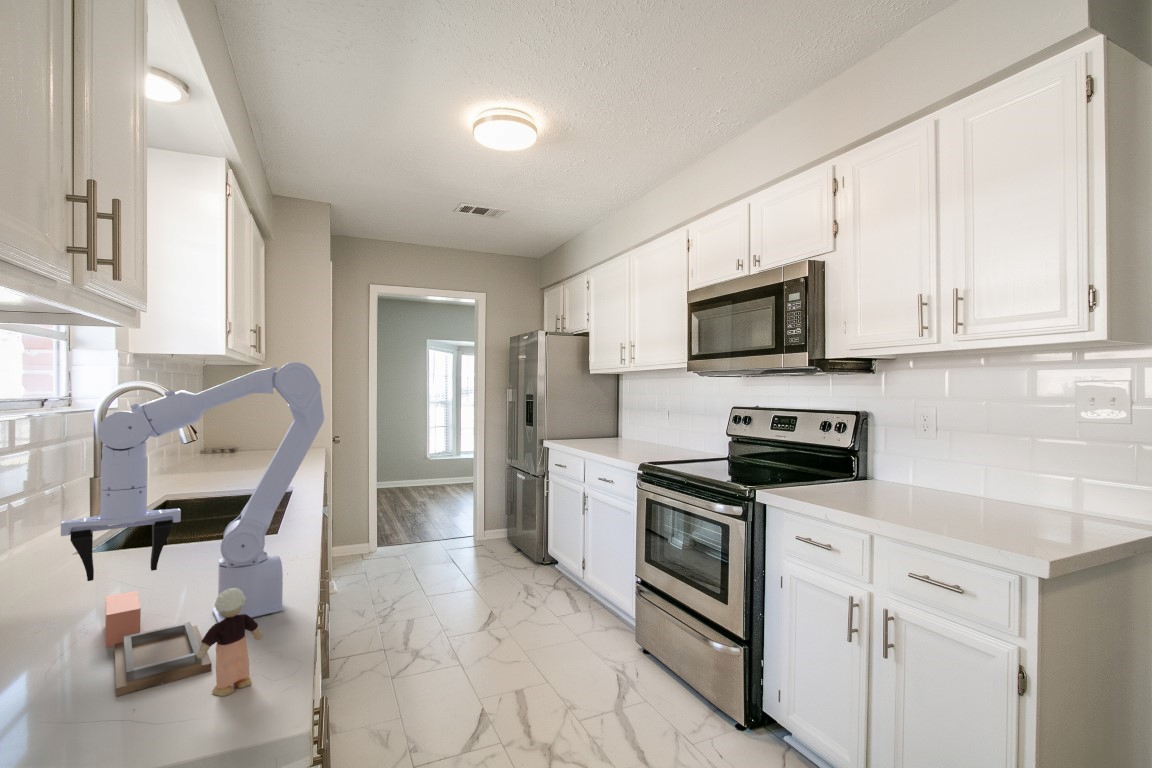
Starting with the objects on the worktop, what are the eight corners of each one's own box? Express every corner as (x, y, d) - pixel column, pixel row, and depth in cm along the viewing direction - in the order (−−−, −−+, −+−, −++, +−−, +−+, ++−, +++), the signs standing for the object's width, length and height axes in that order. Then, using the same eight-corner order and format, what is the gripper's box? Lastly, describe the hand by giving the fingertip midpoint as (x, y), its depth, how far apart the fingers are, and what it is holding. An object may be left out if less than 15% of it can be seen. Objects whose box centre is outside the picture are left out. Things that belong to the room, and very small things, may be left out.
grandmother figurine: (245, 672, 75) (246, 578, 75) (266, 677, 74) (267, 581, 74) (188, 701, 68) (189, 597, 68) (209, 708, 66) (210, 601, 67)
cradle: (196, 631, 88) (196, 617, 88) (211, 670, 75) (211, 654, 75) (114, 650, 81) (114, 635, 81) (116, 696, 69) (116, 678, 69)
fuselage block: (136, 620, 92) (137, 590, 92) (140, 641, 85) (140, 608, 85) (105, 627, 90) (105, 596, 90) (105, 649, 82) (106, 615, 82)
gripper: (178, 479, 95) (177, 559, 95) (63, 489, 86) (61, 577, 86) (182, 485, 90) (181, 569, 90) (60, 495, 80) (58, 589, 80)
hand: (122, 573), depth 87 cm, fingers open, 7 cm apart
